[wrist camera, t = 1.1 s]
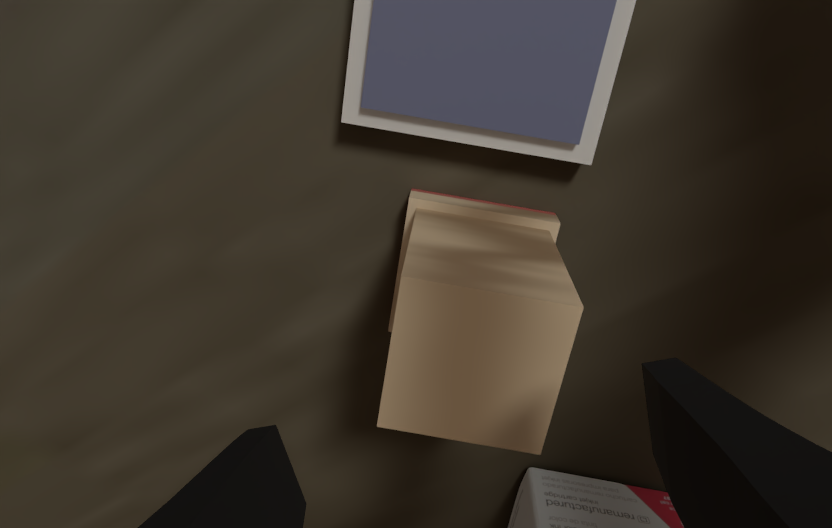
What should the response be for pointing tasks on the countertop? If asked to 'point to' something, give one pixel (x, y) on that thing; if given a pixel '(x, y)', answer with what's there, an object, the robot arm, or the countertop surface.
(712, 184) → the countertop surface
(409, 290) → the stamp
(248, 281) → the countertop surface
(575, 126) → the ink pad
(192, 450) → the countertop surface
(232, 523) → the robot arm
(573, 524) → the ink box
